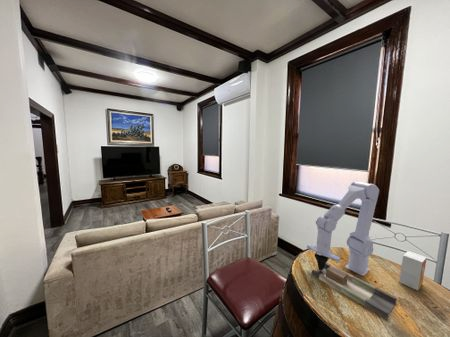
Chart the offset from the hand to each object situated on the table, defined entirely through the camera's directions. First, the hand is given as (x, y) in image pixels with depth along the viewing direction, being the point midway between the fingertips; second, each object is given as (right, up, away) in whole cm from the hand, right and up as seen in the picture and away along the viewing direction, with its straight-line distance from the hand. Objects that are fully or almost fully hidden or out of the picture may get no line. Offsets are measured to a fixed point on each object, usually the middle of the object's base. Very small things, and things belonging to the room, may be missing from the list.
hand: (320, 269), depth 88 cm
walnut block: (+4, -2, -5) cm, 7 cm away
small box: (+39, -4, -4) cm, 39 cm away
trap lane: (+7, -3, -10) cm, 12 cm away
